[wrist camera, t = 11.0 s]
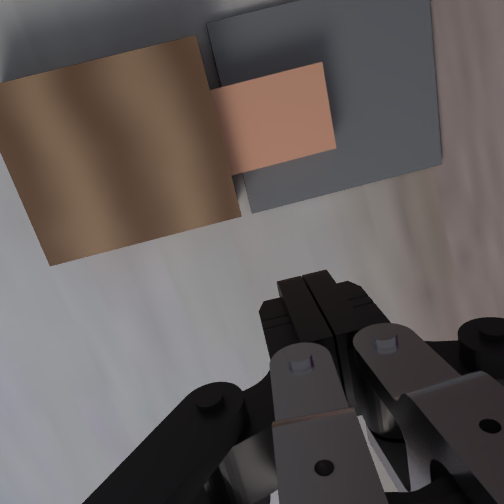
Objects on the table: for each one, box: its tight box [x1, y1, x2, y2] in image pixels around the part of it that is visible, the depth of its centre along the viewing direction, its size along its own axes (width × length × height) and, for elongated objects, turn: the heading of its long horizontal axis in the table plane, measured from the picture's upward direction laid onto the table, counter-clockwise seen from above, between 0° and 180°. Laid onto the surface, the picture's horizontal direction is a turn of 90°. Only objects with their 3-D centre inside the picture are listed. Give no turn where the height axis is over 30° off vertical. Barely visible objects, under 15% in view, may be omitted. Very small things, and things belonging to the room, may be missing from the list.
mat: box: [206, 0, 442, 214], centre depth 33 cm, size 16×14×1 cm
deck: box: [0, 35, 241, 266], centre depth 31 cm, size 14×12×4 cm
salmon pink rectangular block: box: [210, 62, 336, 176], centre depth 32 cm, size 8×6×2 cm
